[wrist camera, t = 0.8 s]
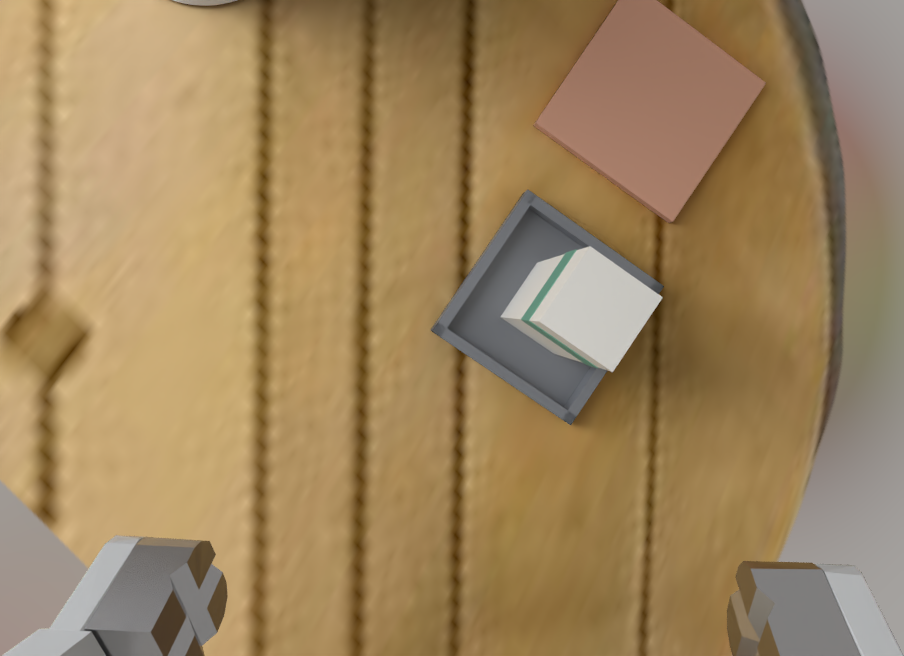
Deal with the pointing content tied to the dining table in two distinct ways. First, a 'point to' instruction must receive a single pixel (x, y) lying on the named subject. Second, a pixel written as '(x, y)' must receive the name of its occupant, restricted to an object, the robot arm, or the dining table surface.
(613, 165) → the mat
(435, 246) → the dining table surface
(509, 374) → the parts tray
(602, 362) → the labelled box
